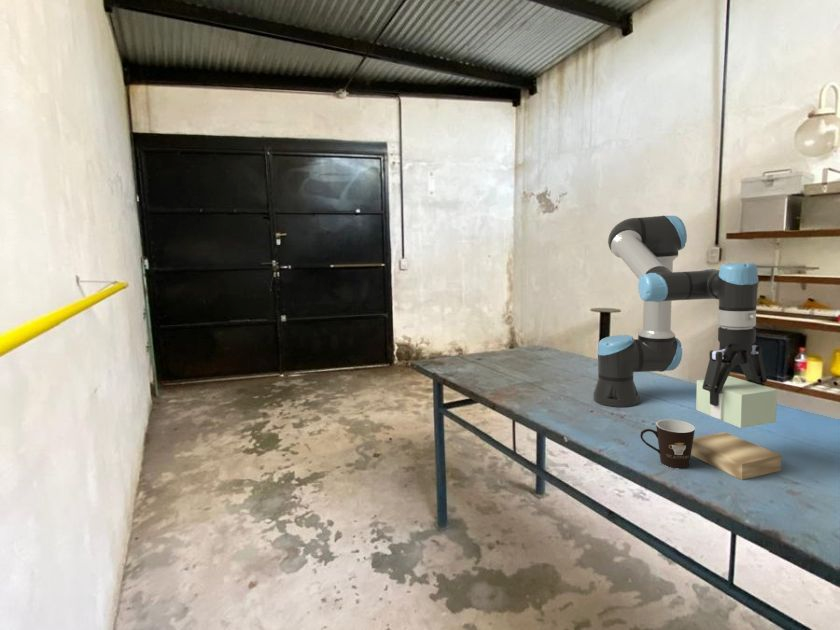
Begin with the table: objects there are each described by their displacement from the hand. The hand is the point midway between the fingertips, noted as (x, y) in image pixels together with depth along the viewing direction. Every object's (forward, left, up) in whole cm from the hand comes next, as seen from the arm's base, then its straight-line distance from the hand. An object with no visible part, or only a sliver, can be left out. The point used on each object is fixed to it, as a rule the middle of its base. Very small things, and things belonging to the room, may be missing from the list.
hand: (734, 414), depth 112 cm
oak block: (0, 0, -13) cm, 13 cm away
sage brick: (0, 0, 0) cm, 0 cm away
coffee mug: (-6, -14, -13) cm, 20 cm away
